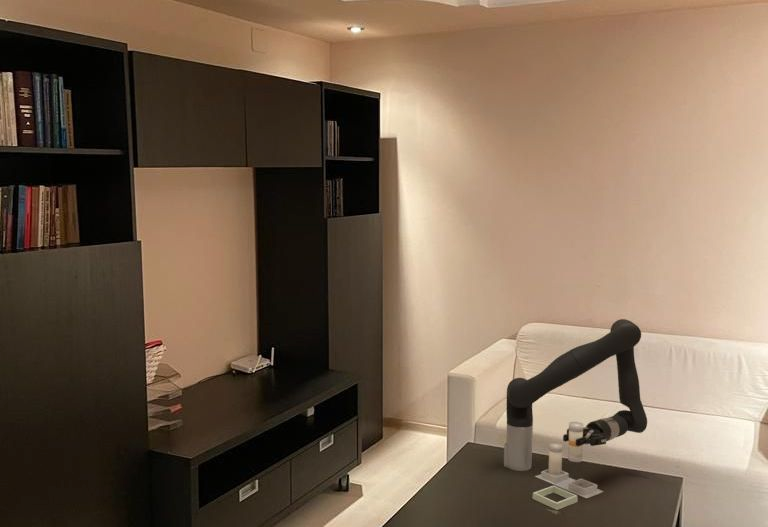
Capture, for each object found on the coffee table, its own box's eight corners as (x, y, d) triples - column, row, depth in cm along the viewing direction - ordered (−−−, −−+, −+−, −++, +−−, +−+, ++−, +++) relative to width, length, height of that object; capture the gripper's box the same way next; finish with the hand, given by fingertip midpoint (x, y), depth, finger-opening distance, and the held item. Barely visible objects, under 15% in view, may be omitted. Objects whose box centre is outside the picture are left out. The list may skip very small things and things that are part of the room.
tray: (532, 503, 235) (532, 492, 234) (553, 495, 240) (553, 485, 240) (556, 514, 227) (557, 503, 226) (577, 506, 232) (577, 495, 232)
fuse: (546, 478, 250) (547, 445, 249) (550, 474, 254) (551, 441, 253) (559, 481, 248) (560, 447, 247) (563, 477, 252) (564, 443, 251)
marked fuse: (566, 460, 237) (567, 425, 235) (569, 455, 241) (570, 420, 240) (580, 463, 235) (581, 427, 233) (583, 458, 239) (584, 423, 237)
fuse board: (534, 480, 253) (535, 470, 252) (551, 474, 258) (552, 465, 258) (586, 502, 235) (586, 492, 235) (603, 495, 240) (603, 485, 240)
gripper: (585, 414, 251) (553, 423, 241) (621, 425, 240) (588, 435, 229) (584, 435, 252) (552, 445, 241) (620, 447, 240) (588, 458, 230)
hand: (570, 440), depth 235 cm, fingers closed on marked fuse, 4 cm apart
